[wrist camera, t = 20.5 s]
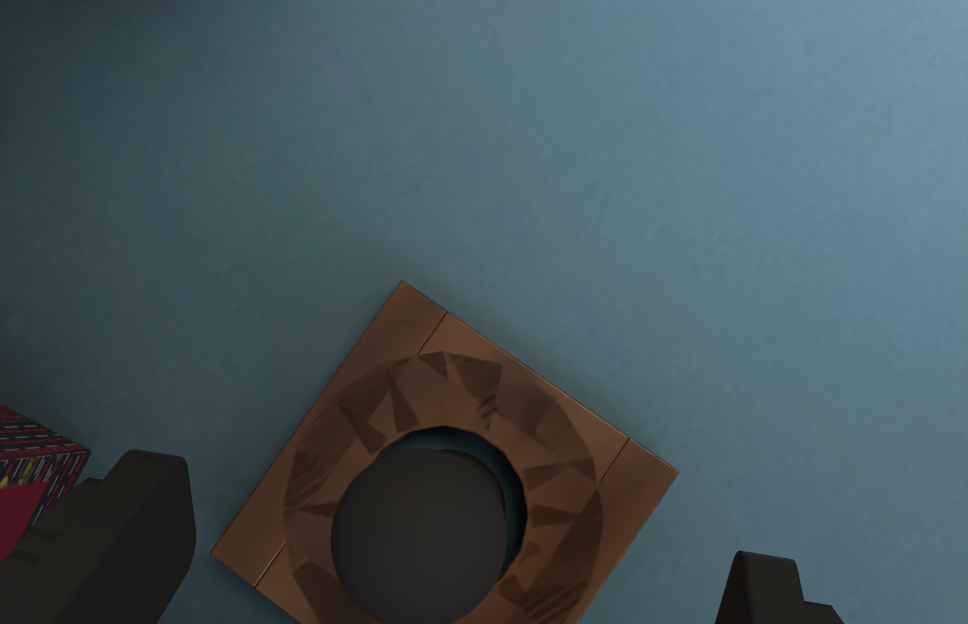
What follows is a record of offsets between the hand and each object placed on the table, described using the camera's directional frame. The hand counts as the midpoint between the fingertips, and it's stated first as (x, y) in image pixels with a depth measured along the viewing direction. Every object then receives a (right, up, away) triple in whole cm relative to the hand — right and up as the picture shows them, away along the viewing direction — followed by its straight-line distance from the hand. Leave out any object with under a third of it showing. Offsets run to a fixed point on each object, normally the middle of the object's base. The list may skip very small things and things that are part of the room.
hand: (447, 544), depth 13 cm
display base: (-1, -4, +20) cm, 21 cm away
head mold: (-1, -4, +20) cm, 21 cm away
